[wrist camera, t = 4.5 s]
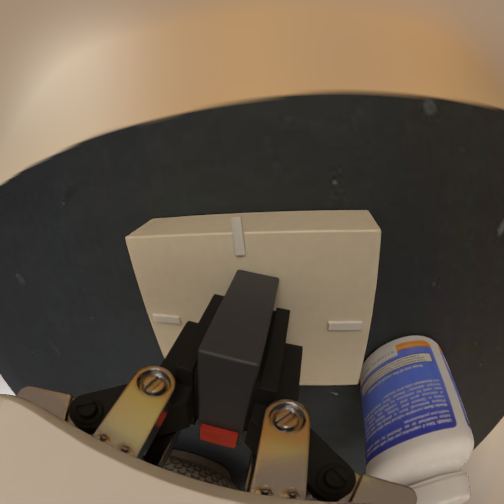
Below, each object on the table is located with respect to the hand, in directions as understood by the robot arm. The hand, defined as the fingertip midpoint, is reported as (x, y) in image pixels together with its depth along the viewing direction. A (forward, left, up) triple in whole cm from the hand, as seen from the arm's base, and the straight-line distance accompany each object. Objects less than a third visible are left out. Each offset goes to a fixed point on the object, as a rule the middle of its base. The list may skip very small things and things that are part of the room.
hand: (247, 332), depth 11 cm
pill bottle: (-8, +6, -3) cm, 10 cm away
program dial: (0, 0, -1) cm, 1 cm away
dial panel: (0, 0, -3) cm, 3 cm away
